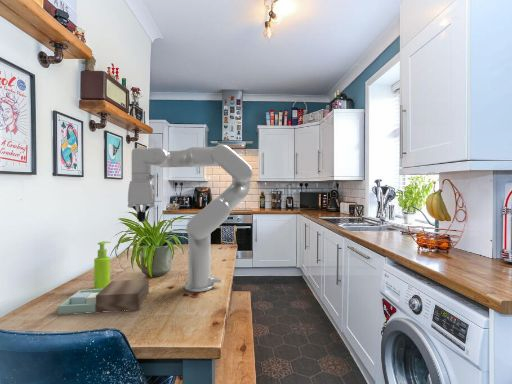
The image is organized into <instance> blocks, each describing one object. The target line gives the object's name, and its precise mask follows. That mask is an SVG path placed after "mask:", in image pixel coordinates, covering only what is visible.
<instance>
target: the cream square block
mask: <svg viewBox="0 0 512 384" xmlns="http://www.w3.org/2000/svg"><path fill="white" fill-rule="evenodd" d="M97 294H98V293H91V294H90V295H89V296H88V297H87V298H86V304H93V303H96V295H97Z"/></svg>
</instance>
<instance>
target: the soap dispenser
mask: <svg viewBox="0 0 512 384" xmlns="http://www.w3.org/2000/svg"><path fill="white" fill-rule="evenodd" d="M110 243H111V241H105V240H104V241H100V242H97V245H99V249H98V250H97V257H95V258H94V260H93V261H94V263H93V266H94V268H93V270H94V271H93V274H94V277H93V278H94V279H93V282H94V283H93V285H94V288H93V289H104V288H105V287H106V286H107V285H108V284H109V283H110V282H111V265H110V264H111V258H110V256H107V252H108V251H107V249H106V248H105V245H106V244H110Z"/></svg>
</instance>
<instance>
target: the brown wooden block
mask: <svg viewBox="0 0 512 384" xmlns="http://www.w3.org/2000/svg"><path fill="white" fill-rule="evenodd" d="M148 294H149V295H150V279H149V278H147V279H144V278H143V279H130V280H129V279H126V280H123V279H122V280H121V279H120V280H111V281H110V283H109V284H108V285H107V286H106V287H105V288H104V289H103V290H102V291H100V292H99V293H98V294H97V295H96V312H102V313H104V312H103V311H119V312H127V311H126V310H135V311H140V309H141V308H142V306H143V304H144V303H145V301H146V299H147V298H146V297H148V296H149V295H148ZM147 295H148V296H147ZM144 300H145V301H144ZM143 302H144V303H143ZM141 305H142V306H141ZM124 310H125V311H124Z"/></svg>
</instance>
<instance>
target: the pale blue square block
mask: <svg viewBox="0 0 512 384" xmlns="http://www.w3.org/2000/svg"><path fill="white" fill-rule="evenodd" d="M91 293H92V292H83V293H77V294H75V293H74V294H75V295H74V294H73V295H74V296H72V295H71V296H72V297H71V296H70V297H71V305H75V304H86V298H87V297H88V296H89V295H90V294H91Z"/></svg>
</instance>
